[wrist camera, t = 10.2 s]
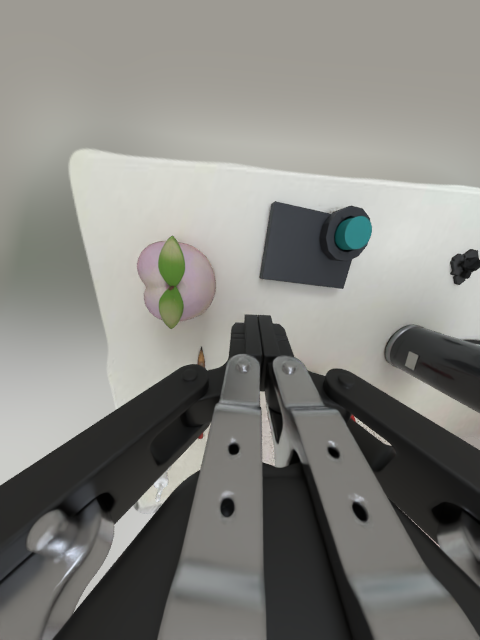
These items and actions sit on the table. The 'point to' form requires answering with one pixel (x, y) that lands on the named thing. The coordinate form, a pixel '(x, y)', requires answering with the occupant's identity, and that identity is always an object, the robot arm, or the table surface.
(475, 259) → the dark flat lumpy piece
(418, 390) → the table surface
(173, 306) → the decorative fruit
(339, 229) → the button
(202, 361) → the pencil
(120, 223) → the table surface
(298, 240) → the push button panel
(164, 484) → the chess piece
